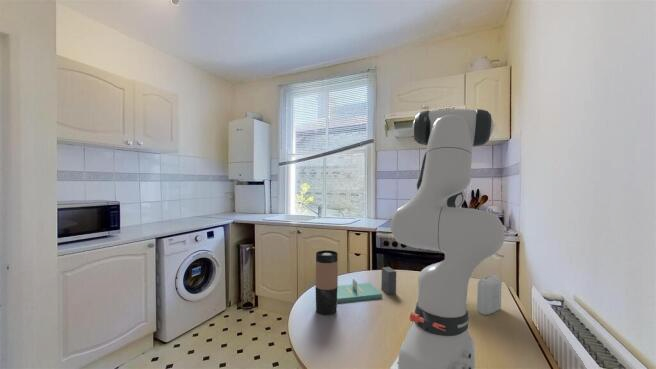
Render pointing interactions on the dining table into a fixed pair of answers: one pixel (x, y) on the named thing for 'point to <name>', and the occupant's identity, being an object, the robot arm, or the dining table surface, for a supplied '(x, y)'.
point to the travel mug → (326, 282)
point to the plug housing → (389, 280)
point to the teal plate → (357, 292)
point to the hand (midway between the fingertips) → (416, 242)
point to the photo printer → (489, 294)
